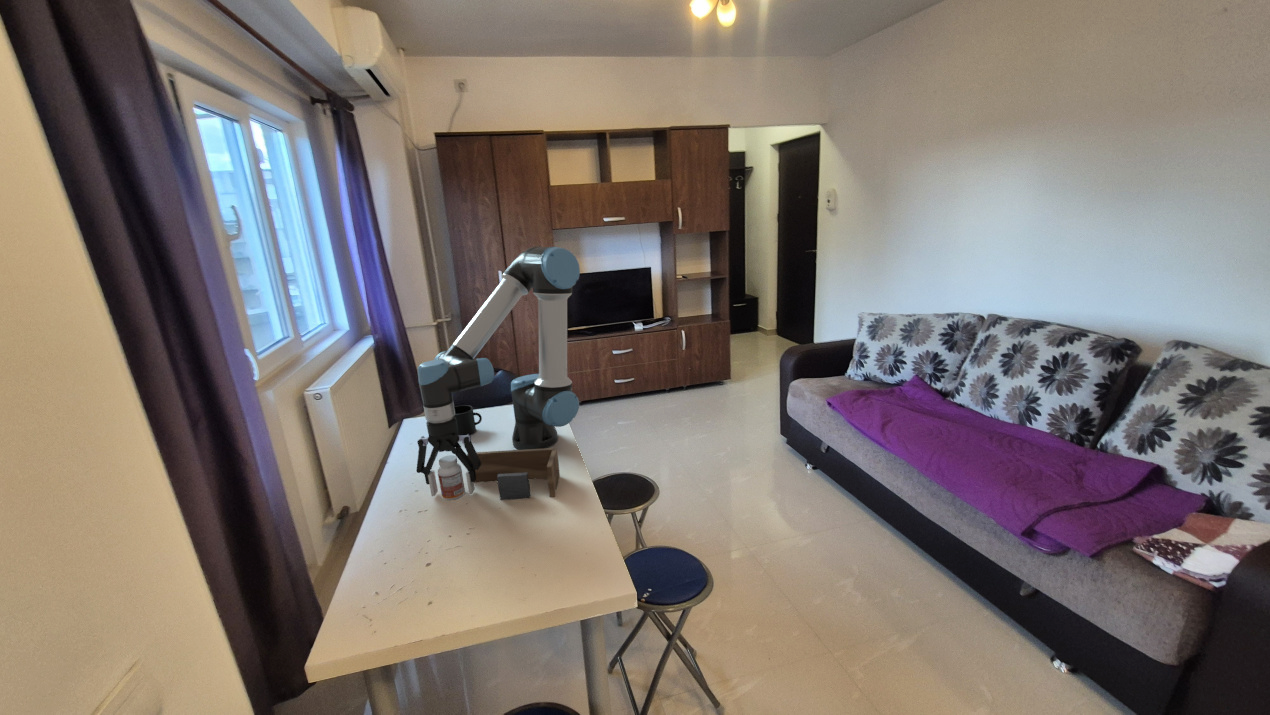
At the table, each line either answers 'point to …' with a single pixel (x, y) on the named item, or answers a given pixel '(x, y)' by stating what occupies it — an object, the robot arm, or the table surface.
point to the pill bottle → (450, 478)
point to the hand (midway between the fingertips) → (453, 492)
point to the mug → (466, 419)
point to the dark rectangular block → (514, 486)
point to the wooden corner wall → (520, 465)
